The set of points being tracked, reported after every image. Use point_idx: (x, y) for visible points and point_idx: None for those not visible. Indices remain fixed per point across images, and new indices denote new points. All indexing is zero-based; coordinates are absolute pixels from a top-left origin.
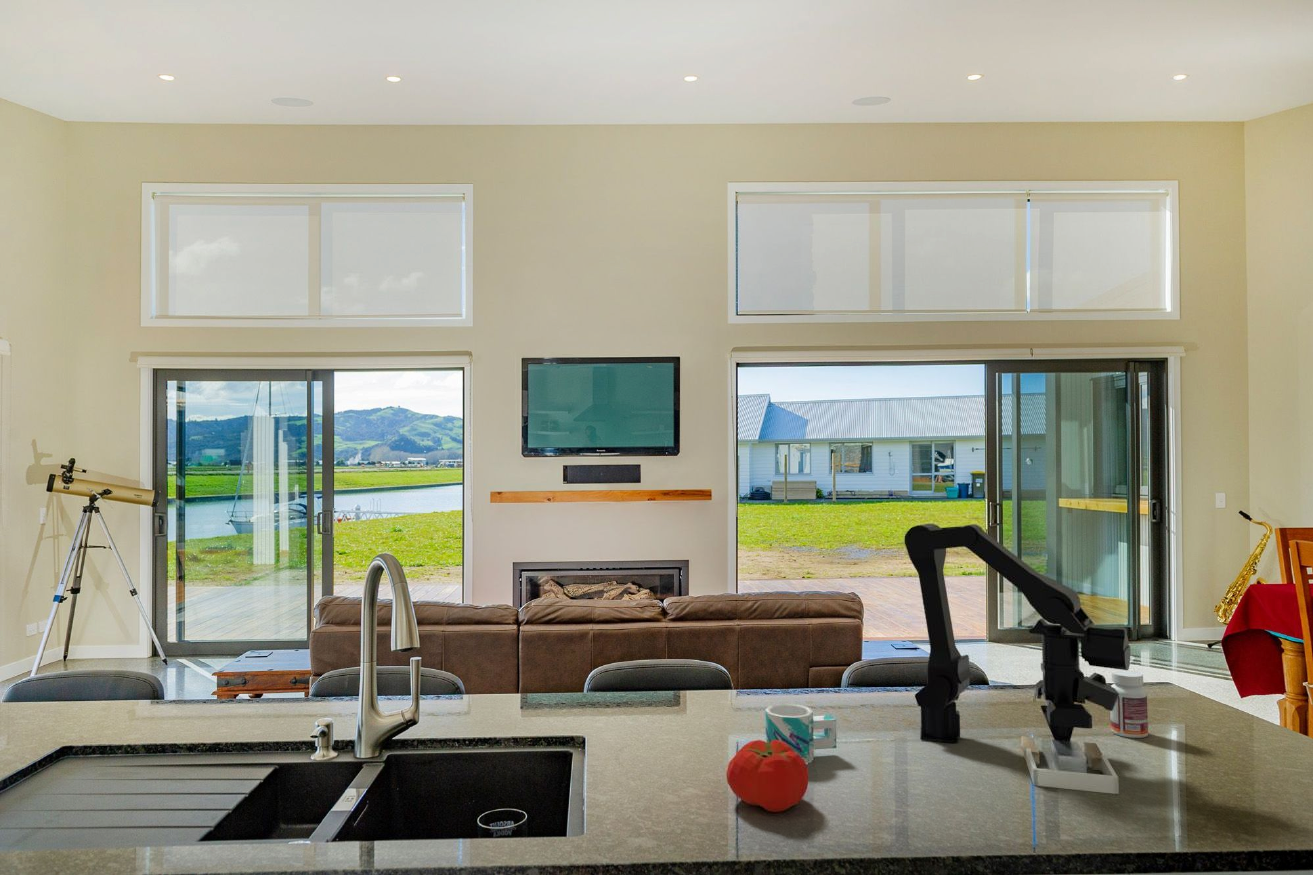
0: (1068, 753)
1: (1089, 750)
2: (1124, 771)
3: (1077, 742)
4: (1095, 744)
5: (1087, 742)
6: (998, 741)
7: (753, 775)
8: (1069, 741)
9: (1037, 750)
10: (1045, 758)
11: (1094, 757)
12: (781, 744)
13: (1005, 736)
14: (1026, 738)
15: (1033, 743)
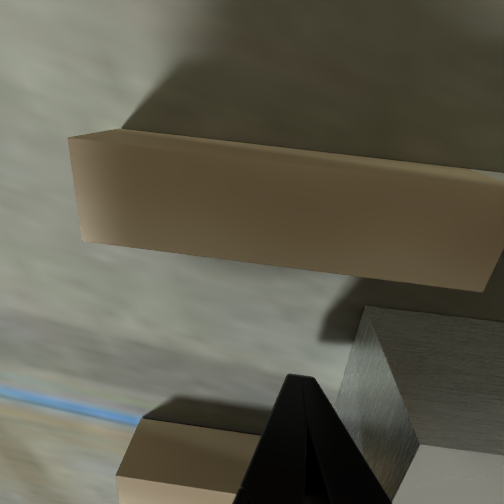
0: None
1: (302, 256)
2: (490, 4)
3: (448, 448)
4: (118, 155)
5: (88, 211)
6: (94, 494)
7: None
8: (417, 489)
9: None
10: (268, 409)
11: (484, 271)
12: None
13: (16, 463)
14: (146, 501)
15: (222, 497)
